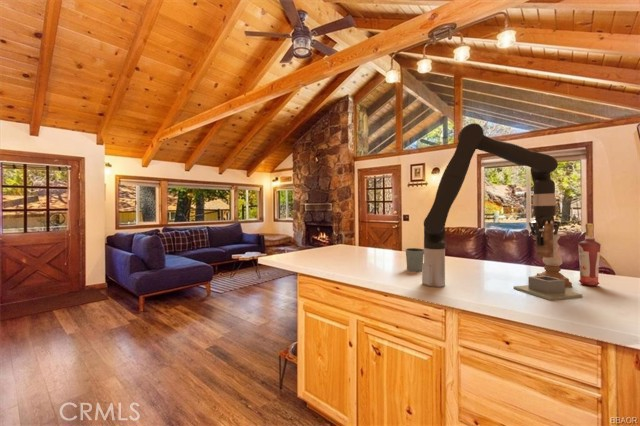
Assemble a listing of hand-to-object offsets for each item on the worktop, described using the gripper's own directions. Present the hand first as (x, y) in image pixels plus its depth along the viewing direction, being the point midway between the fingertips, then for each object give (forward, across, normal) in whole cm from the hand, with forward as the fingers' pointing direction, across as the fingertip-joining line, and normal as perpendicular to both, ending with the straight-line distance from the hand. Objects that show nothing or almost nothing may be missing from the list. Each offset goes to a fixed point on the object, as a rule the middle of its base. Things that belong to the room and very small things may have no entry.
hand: (544, 245), depth 120 cm
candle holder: (+20, +17, +10) cm, 28 cm away
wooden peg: (+5, 0, 0) cm, 5 cm away
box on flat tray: (+20, 0, -1) cm, 20 cm away
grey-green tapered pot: (+19, -30, +52) cm, 63 cm away
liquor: (+20, +29, +3) cm, 35 cm away
